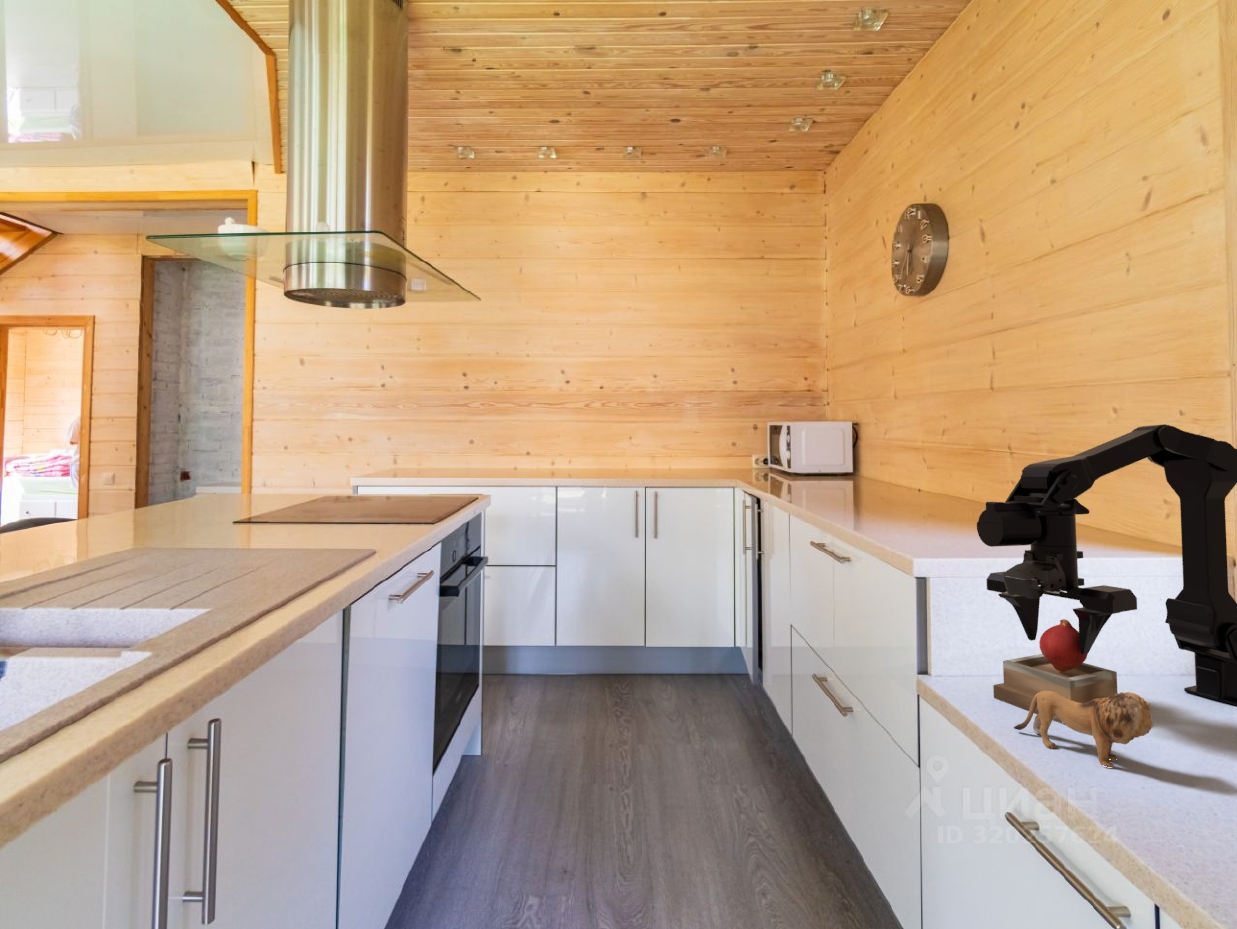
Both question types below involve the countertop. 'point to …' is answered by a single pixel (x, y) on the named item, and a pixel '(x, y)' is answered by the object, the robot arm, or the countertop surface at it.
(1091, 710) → the lion figurine
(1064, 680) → the wooden tray on base
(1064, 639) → the onion
